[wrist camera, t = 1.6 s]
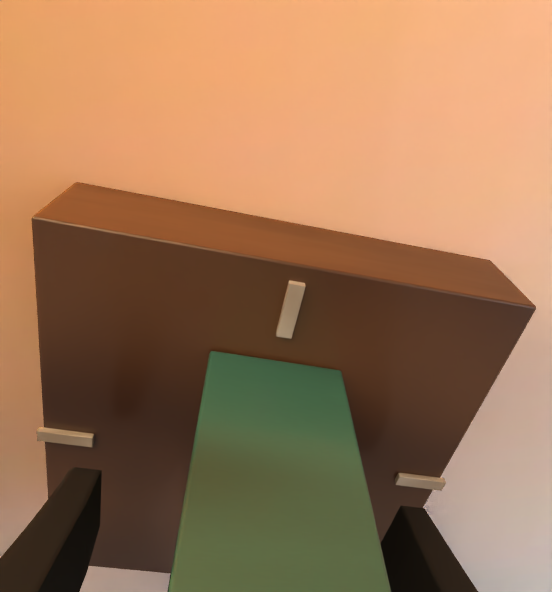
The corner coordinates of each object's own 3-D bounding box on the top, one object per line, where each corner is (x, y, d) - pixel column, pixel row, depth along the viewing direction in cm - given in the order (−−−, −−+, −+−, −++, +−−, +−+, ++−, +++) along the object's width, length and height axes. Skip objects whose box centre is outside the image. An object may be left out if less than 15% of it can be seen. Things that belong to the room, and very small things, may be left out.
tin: (281, 541, 14) (291, 847, 9) (179, 530, 14) (125, 841, 9) (341, 369, 11) (416, 692, 6) (209, 348, 11) (152, 674, 5)
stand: (364, 527, 18) (378, 598, 16) (75, 495, 17) (45, 567, 15) (494, 260, 13) (546, 311, 10) (71, 180, 11) (21, 218, 9)
